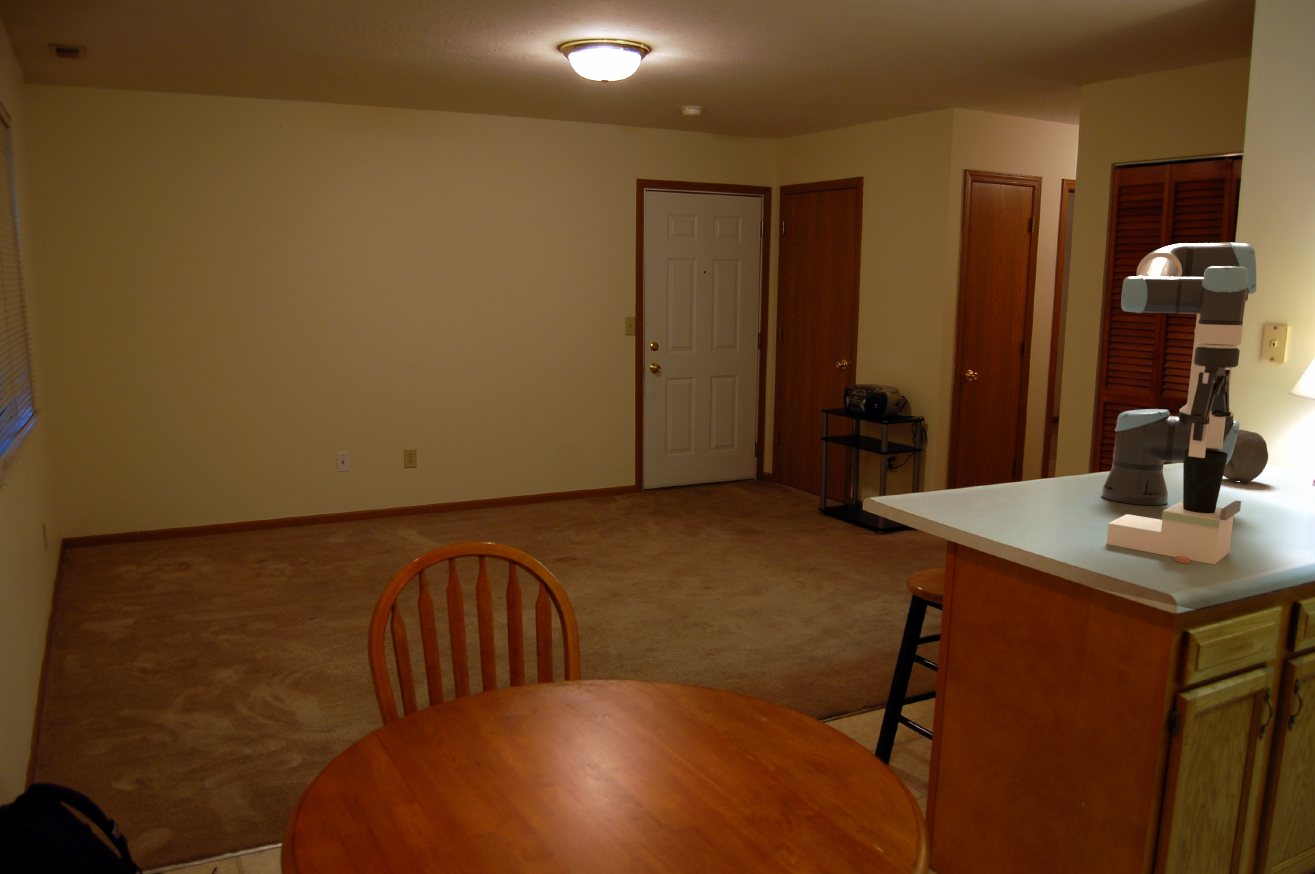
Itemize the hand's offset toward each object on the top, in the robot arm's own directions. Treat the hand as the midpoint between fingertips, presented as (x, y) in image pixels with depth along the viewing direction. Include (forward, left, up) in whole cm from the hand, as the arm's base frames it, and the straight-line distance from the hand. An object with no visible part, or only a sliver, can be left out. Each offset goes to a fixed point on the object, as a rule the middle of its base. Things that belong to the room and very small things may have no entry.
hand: (1205, 452), depth 185 cm
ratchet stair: (+2, -4, -21) cm, 21 cm away
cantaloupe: (-97, -12, -21) cm, 100 cm away
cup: (0, 0, -12) cm, 12 cm away
